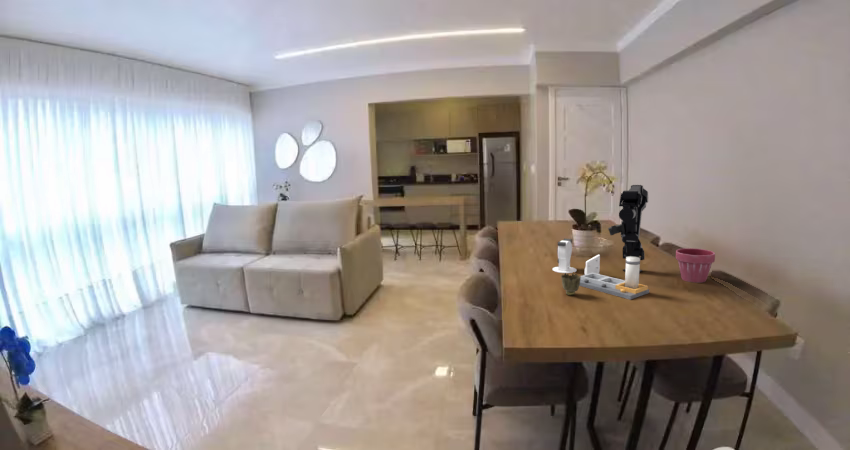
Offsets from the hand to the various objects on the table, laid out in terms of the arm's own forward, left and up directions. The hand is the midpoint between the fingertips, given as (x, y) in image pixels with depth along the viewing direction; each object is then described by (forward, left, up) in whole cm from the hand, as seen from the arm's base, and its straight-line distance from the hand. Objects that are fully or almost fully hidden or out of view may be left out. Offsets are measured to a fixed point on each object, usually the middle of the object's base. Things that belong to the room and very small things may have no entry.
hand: (628, 253), depth 183 cm
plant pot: (-21, +18, -12) cm, 30 cm away
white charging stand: (+8, -28, -12) cm, 32 cm away
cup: (+36, -2, -12) cm, 38 cm away
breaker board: (+17, +3, -12) cm, 21 cm away
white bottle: (+15, +11, -10) cm, 21 cm away
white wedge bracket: (+5, -14, -12) cm, 20 cm away
